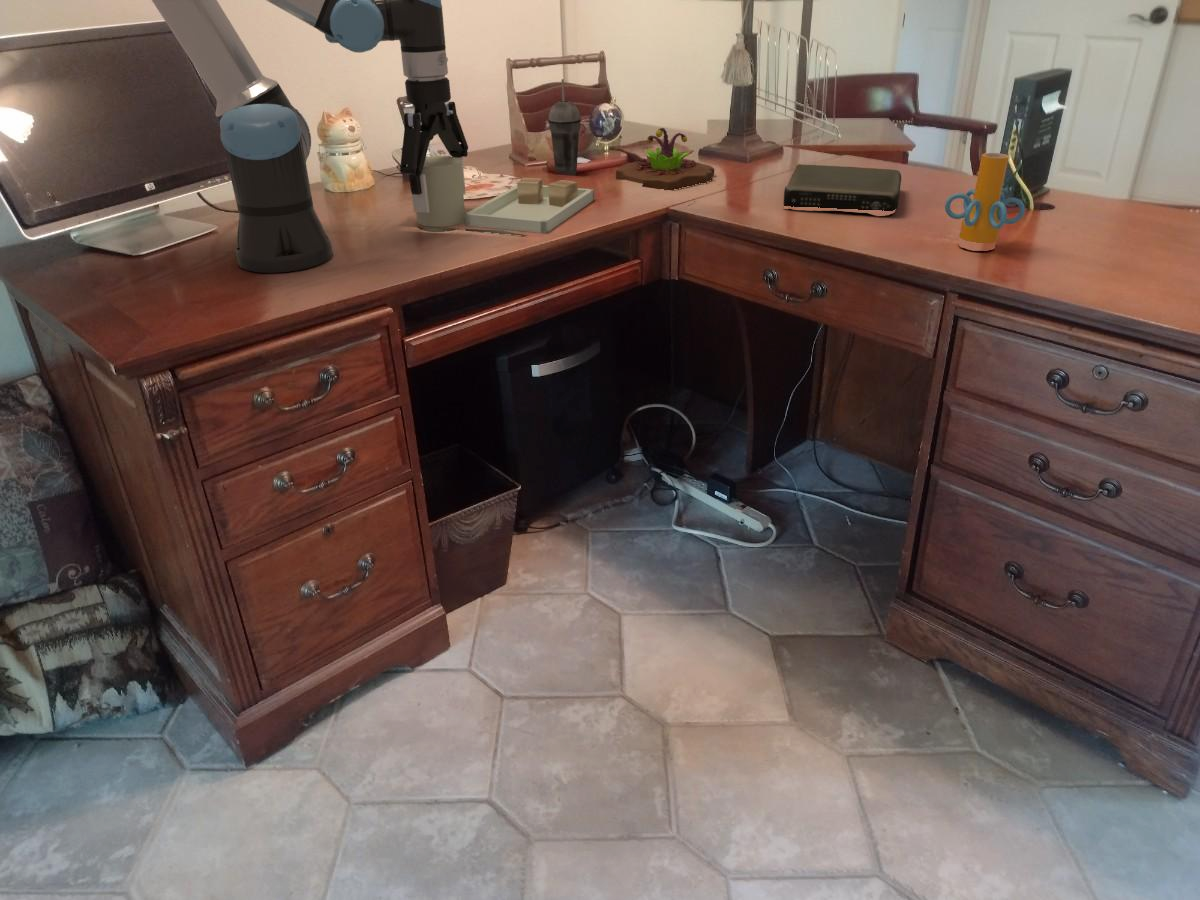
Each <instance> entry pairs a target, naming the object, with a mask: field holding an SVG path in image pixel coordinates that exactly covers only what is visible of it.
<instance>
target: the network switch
mask: <svg viewBox="0 0 1200 900" xmlns="http://www.w3.org/2000/svg"><path fill="white" fill-rule="evenodd" d="M901 183H902V174H901V172H900V171H899V170H897V169H890V168H887V169H885V168H877V167H876V168H874V167H857V166H841V165H840V166H839V165H824V164H823V165H818V164H800V163H799V164H797V165H796V167H795V169H794V171H793V173H792V175H791V177H790V179H789V181H788V183H787V185H785V187H784V194H783V207H784V206H791V207H793V206H794V207H818V208H819V207H820V208H837V209H858V210H882V211H883V210H884V211H893V210H895V209H898V206H899V199H900V192H901Z"/></svg>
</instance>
